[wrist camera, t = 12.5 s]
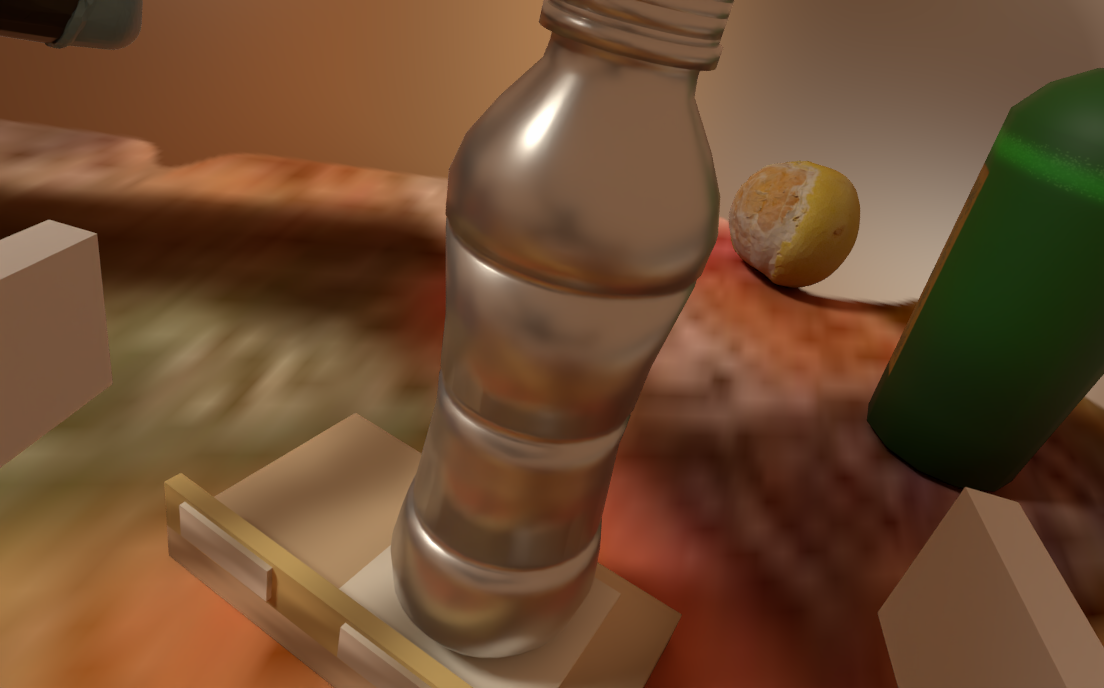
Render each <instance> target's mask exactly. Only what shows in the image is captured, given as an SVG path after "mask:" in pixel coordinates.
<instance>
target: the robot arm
mask: <svg viewBox="0 0 1104 688" xmlns="http://www.w3.org/2000/svg"><path fill="white" fill-rule="evenodd" d="M141 24H142V0H0V36H4V37H11V38H17V39H23V40H29V41H36V42H42V43H45V44H46V45H47V46H50V47H53V48H59V49H60V48H64V47H67V46H78V47H88V48H98V49H109V50H111V49H112V50H115V49H120V48H124V47H126V46H128V45H130V44H131V43H132V42H133V41H134V40H135V39H136V38H137V36H138V35H139V32H140V30H141ZM112 384H113V382H112V372H111V362H110V353H109V343H108V334H107V324H106V314H105V305H104V295H103V285H102V276H101V266H100V256H99V247H98V237H97V233H93V232H90V231H87V230H83V229H80V228H76V227H73V226H69V225H66V224H63V223H59V222H56V221H52V220H47V221H44V222H42V223H39V224H37V225H35V226H32V227H30V228H27V229H25V230H23V231H20V232H18V233H15V234H13V235H11V236H8V237H6V238H4V239H1V240H0V468H1V467H2V466H3V465H5V464H6V463H7V462H9V461H10V460H11V459H13V458H14V457H15V456H17V455H18V454H19V453H21V452H22V451H23V450H25V449H26V448H27V447H29V446H30V445H31V444H33V443H34V442H35V441H37V440H38V439H39V438H41V437H42V436H43V435H45V434H46V433H47V432H49V431H50V430H51V429H53V428H54V427H55V426H57V425H58V424H59V423H61V422H62V421H63V420H65V419H66V418H67V417H69V416H70V415H72V414H73V413H74V412H76V411H77V410H78V409H80V408H81V407H82V406H84V405H85V404H86V403H88V402H89V401H90V400H92V399H93V398H94V397H96V396H97V395H98V394H100V393H101V392H102V391H104V390H105V389H106V388H108V387H109V386H110V385H112ZM878 617H879V620H880V624H881V628H882V631H883V635H884V638H885V642H886V646H887V649H888V653H889V656H890V660H891V664H892V667H893V671H894V674H895V678H896V682H897V685H898V688H1104V647H1103V645H1102V644H1101V642H1100V640H1099V639H1098V637H1097V635H1096V634H1095V632H1094V630H1093V628H1092V627H1091V625H1090V623H1089V622H1088V620H1087V618H1086V617H1085V615H1084V613H1083V611H1082V610H1081V608H1080V606H1079V605H1078V603H1077V601H1076V599H1075V598H1074V596H1073V594H1072V593H1071V591H1070V589H1069V588H1068V586H1067V584H1066V582H1065V581H1064V579H1063V577H1062V576H1061V574H1060V572H1059V571H1058V569H1057V567H1056V565H1055V564H1054V562H1053V560H1052V559H1051V557H1050V555H1049V553H1048V552H1047V550H1046V548H1045V547H1044V545H1043V543H1042V542H1041V540H1040V538H1039V536H1038V535H1037V533H1036V531H1035V530H1034V528H1033V526H1032V525H1031V523H1030V521H1029V519H1028V518H1027V516H1026V514H1025V513H1024V511H1023V509H1022V508H1021V506H1020V504H1019V502H1016V501H1012V500H1009V499H1005V498H1002V497H998V496H995V495H992V494H988V493H985V492H981V491H978V490H974V489H971V488H968V487H965V488H964V489H963V491H962V492H961V494H960V495H959V497H958V498H957V499H956V501H955V502H954V504H953V505H952V507H951V508H950V509H949V511H948V512H947V514H946V515H945V517H944V518H943V520H942V521H941V522H940V524H939V525H938V527H937V528H936V530H935V531H934V532H933V534H932V535H931V537H930V538H929V540H928V541H927V542H926V544H925V545H924V547H923V548H922V550H921V551H920V553H919V554H918V555H917V557H916V558H915V560H914V561H913V563H912V564H911V565H910V567H909V568H908V570H907V571H906V573H905V574H904V575H903V577H902V578H901V580H900V581H899V583H898V584H897V586H896V587H895V588H894V590H893V591H892V593H891V594H890V596H889V597H888V598H887V600H886V601H885V603H884V604H883V606H882V607H881V608H880V610H879V611H878Z"/></svg>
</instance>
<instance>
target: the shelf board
mask: <svg viewBox="0 0 1104 688" xmlns="http://www.w3.org/2000/svg"><path fill="white" fill-rule="evenodd" d="M421 455H422V454H421V453H420V452H418V451H416V450H415V449H413V448H412V447H410V446H408V445H407V444H405V443H403V442H402V441H400V440H399V439H397V438H395V437H394V436H392V435H390V434H389V433H387V432H386V431H384V430H382V429H381V428H379V427H378V426H376V425H374V424H373V423H371V422H369V421H368V420H366V419H365V418H363V417H361V416H360V415H358V414H357V413H354V414H353V415H351V416H349V417H348V418H346V419H344V420H342V421H341V422H339V423H337V424H336V425H334V426H332V427H331V428H329V429H327V430H326V431H324V432H322V433H321V434H319V435H317V436H316V437H314V438H312V439H311V440H309V441H307V442H306V443H304V444H302V445H301V446H299V447H297V448H295V449H294V450H292V451H290V452H289V453H287V454H285V455H284V456H282V457H280V458H279V459H277V460H275V461H274V462H272V463H270V464H269V465H267V466H265V467H264V468H262V469H260V470H259V471H257V472H255V473H254V474H252V475H250V476H248V477H247V478H245V479H243V480H242V481H240V482H238V483H237V484H235V485H233V486H232V487H230V488H228V489H227V490H225V491H223V492H222V493H220V494H218V495H217V496H215V497H213V496H212V495H210V494H209V493H208V492H206V491H205V490H204V489H202V488H201V487H199V486H198V485H197V484H195V483H194V482H193V481H191V480H190V479H189V478H187V477H186V476H184V475H183V474H182V473H180V474H178V475H176V476H174V477H172V478H170V479H169V480H167V481H165V482H164V486H165V502H166V517H167V532H168V548H169V556H171V557H172V558H173V559H174V560H176V561H177V562H178V563H179V564H181V565H182V566H183V567H184V568H186V569H187V570H188V571H189V572H191V573H192V574H193V575H194V576H196V577H197V578H198V579H199V580H201V581H202V582H203V583H204V584H206V585H207V586H208V587H209V588H211V589H212V590H213V591H214V592H216V593H217V594H218V595H219V596H221V597H222V598H223V599H224V600H226V601H227V602H228V603H229V604H231V605H232V606H233V607H235V608H236V609H237V610H238V611H240V612H241V613H242V614H243V615H245V616H246V617H247V618H248V619H250V620H251V621H252V622H253V623H255V624H256V625H257V626H258V627H260V628H261V629H262V630H263V631H265V632H266V633H267V634H268V635H270V636H271V637H272V638H273V639H275V640H276V641H277V642H278V643H280V644H281V645H282V646H283V647H285V648H286V649H287V650H288V651H290V652H291V653H292V654H293V655H295V656H296V657H297V658H298V659H300V660H301V661H302V662H303V663H305V664H306V665H307V666H308V667H310V668H311V669H312V670H313V671H315V672H316V673H317V674H318V675H320V676H321V677H322V678H323V679H325V680H326V681H327V682H328V683H330V684H331V685H332V686H333V687H335V688H644V686H645V684H646V683H647V681H648V679H649V677H650V675H651V673H652V672H653V670H654V668H655V666H656V664H657V662H658V660H659V659H660V657H661V655H662V653H663V651H664V649H665V647H666V646H667V644H668V642H669V640H670V638H671V636H672V634H673V632H674V630H675V628H676V626H677V624H678V622H679V620H680V618H681V616H682V614H680V613H679V612H677V611H675V610H674V609H672V608H671V607H669V606H667V605H666V604H664V603H662V602H661V601H659V600H658V599H656V598H654V597H653V596H651V595H649V594H648V593H646V592H645V591H643V590H641V589H640V588H638V587H637V586H635V585H633V584H632V583H630V582H628V581H627V580H625V579H624V578H622V577H620V576H619V575H617V574H615V573H614V572H612V571H611V570H609V569H607V568H606V567H604V566H603V565H601V564H599V563H598V562H597V567H596V573H595V577H594V580H593V584H592V587H591V590H590V592H589V593H588V595H587V597H586V598H585V600H584V601H583V603H582V604H581V606H580V607H579V609H578V610H577V612H576V613H575V615H574V616H573V618H572V619H571V621H570V622H569V624H568V625H567V627H566V628H565V629H564V630H563V631H562V632H561V633H560V634H559V635H558V636H557V637H555V638H554V639H553V640H551V641H550V642H548V643H546V644H545V645H543V646H541V647H540V648H537V649H534V650H532V651H529V652H526V653H523V654H519V655H514V656H508V657H502V658H477V657H472V656H467V655H462V654H460V653H457V652H454V651H452V650H449V649H447V648H445V647H443V646H442V645H440V644H439V643H437V642H435V641H434V640H432V639H431V638H429V637H428V636H427V635H426V634H425V633H423V632H422V631H421V630H420V629H419V628H418V627H417V626H416V625H415V624H414V623H412V621H411V620H410V619H409V617H408V616H407V614H406V613H405V612H404V610H403V609H402V607H401V605H400V602H399V600H398V598H397V595H396V592H395V586H394V580H393V570H392V560H391V550H390V549H391V540H392V533H393V530H394V527H395V524H396V521H397V518H398V515H399V512H400V509H401V506H402V504H403V501H404V498H405V496H406V493H407V491H408V489H409V487H410V485H411V483H412V481H413V478H414V476H415V475H416V473H417V469H418V466H419V462H420V459H421Z"/></svg>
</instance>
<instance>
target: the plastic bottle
mask: <svg viewBox="0 0 1104 688" xmlns="http://www.w3.org/2000/svg"><path fill="white" fill-rule="evenodd" d="M733 2H734V0H544V1H543V6H542V10H541V15H540V19H539V23H540V24H541V25H542V26H543V27H545V28H546V29H548V30H550V31H552V34H551V38H550V41H549V43H548V46H547V48H546V51H545V53H544V56H543V57H542V58H541V59H540V60H539V61H538V62H537V63H535V64H534V65H533V66H532V67H531V68H530V69H529V70H528V71H527V72H525V73H524V74H523V75H522V76H521V77H520V78H519V79H518V80H517V81H515V82H514V83H513V84H512V85H511V86H510V87H509V88H508V89H506V90H505V91H504V92H503V93H502V94H501V95H500V96H499V97H498V98H497V99H496V100H495V102H494V103H493V104H492V105H491V106H490V107H489V108H488V109H487V110H486V111H485V113H484V114H483V115H482V116H481V117H480V118H479V119H478V120H477V121H476V123H474V125H473V126H472V127H471V128H470V129H469V131H468V132H467V133H466V134H465V136H464V139H463V141H462V143H461V145H460V147H459V149H458V151H457V153H456V155H455V158H454V160H453V162H452V164H451V166H450V168H449V176H448V190H447V200H446V216H447V218H446V316H445V326H444V335H443V344H442V353H441V370H440V372H439V382H438V391H437V400H436V404H435V408H434V411H433V415H432V419H431V422H430V426H429V430H428V433H427V437H426V440H425V444H424V448H423V451H422V455H421V459H420V462H419V466H418V469H417V473H416V475H415V476H414V478H413V481H412V483H411V485H410V487H409V489H408V491H407V493H406V496H405V498H404V501H403V504H402V506H401V509H400V512H399V515H398V518H397V521H396V524H395V527H394V530H393V533H392V540H391V549H390V550H391V560H392V570H393V580H394V586H395V592H396V595H397V598H398V600H399V602H400V605H401V607H402V609H403V610H404V612H405V613H406V614H407V616H408V617H409V619H410V620H411V621H412V623H414V624H415V625H416V626H417V627H418V628H419V629H420V630H421V631H422V632H423V633H425V634H426V635H427V636H428V637H429V638H431V639H432V640H434V641H435V642H437V643H439V644H440V645H442V646H443V647H445V648H447V649H449V650H452V651H454V652H457V653H460V654H462V655H467V656H472V657H477V658H502V657H508V656H514V655H519V654H523V653H526V652H529V651H532V650H534V649H537V648H540V647H541V646H543V645H545V644H546V643H548V642H550V641H551V640H553V639H554V638H555V637H557V636H558V635H559V634H560V633H561V632H562V631H563V630H564V629H565V628H566V627H567V625H568V624H569V622H570V621H571V619H572V618H573V616H574V615H575V613H576V612H577V610H578V609H579V607H580V606H581V604H582V603H583V601H584V600H585V598H586V597H587V595H588V593H589V592H590V590H591V587H592V584H593V580H594V577H595V573H596V567H597V561H598V556H599V550H600V540H601V522H602V513H603V509H604V505H605V501H606V497H607V492H608V488H609V484H610V480H611V476H612V471H613V467H614V463H615V459H616V454H617V450H618V446H619V443H620V440H621V438H622V436H623V433H624V431H625V428H626V426H627V423H628V421H629V418H630V413H631V412H632V411H633V409H634V407H635V404H636V402H637V400H638V397H639V395H640V392H641V390H642V387H643V385H644V383H645V380H646V378H647V375H648V373H649V371H650V368H651V366H652V364H653V362H654V361H655V359H656V357H657V355H658V353H659V351H660V349H661V348H662V346H663V344H664V342H665V340H666V338H667V337H668V335H669V333H670V331H671V329H672V327H673V326H674V324H675V322H676V320H677V318H678V316H679V314H680V313H681V311H682V309H683V307H684V305H685V303H686V302H687V300H688V298H689V296H690V294H691V292H692V291H693V289H694V287H695V284H696V280H697V279H698V278H699V277H700V276H701V274H702V272H703V270H704V268H705V265H706V263H707V261H708V258H709V256H710V254H711V252H712V250H713V247H714V245H715V243H716V240H717V236H718V225H719V208H720V193H719V188H718V183H717V178H716V173H715V168H714V163H713V158H712V153H711V149H710V146H709V143H708V140H707V137H706V133H705V130H704V127H703V123H702V120H701V117H700V114H699V111H698V107H697V104H696V101H695V98H694V96H695V91H696V85H697V79H698V75H699V72H700V71H711V70H714V69H715V68H716V67H717V64H718V61H719V58H720V55H721V52H722V49H723V47H722V45H720V44H719V43H720V40H721V37H722V34H723V31H724V29H725V26H726V23H727V20H728V17H729V14H730V11H731V8H732V5H733Z"/></svg>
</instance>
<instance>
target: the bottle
mask: <svg viewBox="0 0 1104 688" xmlns="http://www.w3.org/2000/svg"><path fill="white" fill-rule="evenodd" d="M1103 374H1104V68H1097V69H1094V70H1090V71H1087V72H1083V73H1080V74H1077V75H1073V76H1070V77H1067V78H1063V79H1060V80H1056V81H1053V82H1050V83H1048V84H1047V85H1045V86H1044V87H1042V88H1040V89H1039V90H1037V91H1036V92H1034V93H1033V94H1031V95H1030V96H1029V97H1027V98H1025V99H1024V100H1022V101H1021V102H1019V103H1018V104H1016V105H1015V106H1013V107H1011V109H1010V111H1009V113H1008V115H1007V118H1006V120H1005V122H1004V124H1003V126H1002V128H1001V130H1000V132H999V134H998V136H997V138H996V140H995V142H994V144H993V147H992V149H991V151H990V153H989V155H988V157H987V159H986V161H985V163H984V165H983V168H982V169H981V171H980V173H979V176H978V178H977V180H976V182H975V184H974V186H973V188H972V190H971V192H970V194H969V197H968V198H967V200H966V203H965V205H964V207H963V209H962V211H961V213H960V215H959V217H958V219H957V221H956V223H955V226H954V228H953V230H952V232H951V234H950V236H949V238H948V240H947V242H946V244H945V246H944V248H943V250H942V252H941V254H940V257H939V259H938V261H937V263H936V265H935V267H934V270H933V271H932V273H931V275H930V277H929V279H928V282H927V284H926V286H925V288H924V290H923V292H922V294H921V296H920V298H919V300H918V302H917V304H916V306H915V309H914V311H913V313H912V315H911V317H910V319H909V321H908V323H907V325H906V327H905V329H904V331H903V333H902V336H901V338H900V340H899V342H898V344H897V346H896V348H895V350H894V352H893V354H892V356H891V358H890V360H889V363H888V365H887V367H886V369H885V371H884V373H883V375H882V377H881V379H880V381H879V383H878V385H877V387H876V390H875V392H874V394H873V396H872V398H871V400H870V402H869V406H868V416H867V421H868V423H869V424H870V425H871V427H872V428H873V429H874V431H875V432H876V434H877V435H878V436H879V438H880V439H881V440H882V442H883V443H884V444H885V445H886V446H887V447H888V448H889V449H890V450H891V451H892V452H894V453H895V454H896V455H898V456H899V457H900V458H902V459H903V460H904V461H906V462H907V463H909V464H910V465H911V466H913V467H914V468H915V469H917V470H918V471H920V472H923V473H925V474H927V475H930V476H932V477H934V478H937V479H939V480H941V481H944V482H946V483H948V484H951V485H954V486H957V487H962V488H965V487H968V488H971V489H978V490H986V491H996V490H998V489H999V488H1001V487H1003V486H1004V485H1006V484H1008V483H1009V482H1011V481H1012V480H1013V479H1014V478H1015V476H1016V475H1017V474H1018V473H1019V472H1020V471H1021V469H1022V468H1023V467H1024V466H1025V465H1026V464H1027V462H1028V461H1029V460H1030V459H1031V458H1032V457H1033V456H1034V454H1035V453H1036V452H1037V451H1038V450H1039V449H1040V447H1041V446H1042V445H1043V444H1044V443H1045V442H1046V440H1047V439H1048V438H1049V437H1050V436H1051V435H1052V433H1053V432H1054V431H1055V430H1056V429H1057V428H1058V427H1059V425H1060V424H1061V423H1062V422H1063V421H1064V420H1065V418H1066V417H1067V416H1068V415H1069V414H1070V413H1071V411H1072V410H1073V409H1074V408H1075V407H1076V406H1077V404H1078V403H1079V402H1080V401H1081V400H1082V399H1083V397H1084V396H1085V395H1086V394H1087V393H1088V392H1089V391H1090V389H1091V388H1092V387H1093V386H1094V385H1095V384H1096V382H1097V381H1098V380H1099V379H1100V377H1102V375H1103Z"/></svg>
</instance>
